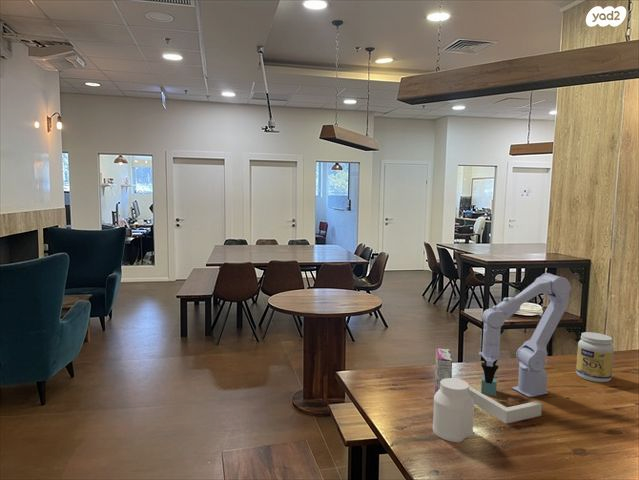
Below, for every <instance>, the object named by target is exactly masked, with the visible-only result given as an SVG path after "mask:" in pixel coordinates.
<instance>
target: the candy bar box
mask: <svg viewBox="0 0 639 480" xmlns="http://www.w3.org/2000/svg"><path fill="white" fill-rule="evenodd" d="M452 358H453V357H452V354H451V351H450V349H449V348H440V347H439V348H438V347H437V348H435V363H434V364H435V368H434V369H435V371H434V376H435V377H434V395H435V394H436V392H437V391H438V390H439V389H440V381H441V380H442V379H446V378H453V377H452V374H453V371H452V370H453V359H452Z"/></svg>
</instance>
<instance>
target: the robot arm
mask: <svg viewBox="0 0 639 480" xmlns="http://www.w3.org/2000/svg"><path fill="white" fill-rule="evenodd" d="M572 289H573V287H572V286H571V283H570V282H569V280H568V279H567V278H566V277H563V276H558V275H555V274H553V273H549V272H544V273H543V274H541V275H540V276H538V277H536V278H535V280H534V281H533V282H532V283H531V284H529V285H528V286H527V287H525V288H524V289H522V291H521V292H519V293H518V294H516V295H515V296H513V297H512V296H509V297H504V298H503V299H502V301H500V302H499V303H497V304H496V305H493V306H492V308H487V309H485V310H483V313H482V314H481V315H480V318H481V321H482V322H483V333H482V334H483V335H482V349H481V351H479V352H478V356H481V358H482V359H483V362H481V368H482V370H483V374H484V375H485V382H486V383H490V384H492V382H493V378H494V377H495V374H496V372H497V371H498V369H499V365H498V364H497V362H498V360H499V359H500V346H501V344H500V343H501V329H502V327H503V326H504V324H505V322H506V320H507V319H509V318H510V317H512V316H514V314H516V313H517V312H519V311H520V310H521V305H523V304H525V303H526V302H529V301H531V299H533V298H535V297H537V296H538V295H540V294H543V295H546V296H547V298H548V301H549V303H548V305H547V307H546V309H545V311H544V313H543V314H542V316H541V318H540V320H539V322H538V324H537V325H536V328H535V329H534V331H533V333H532V336H531V337H530V338H529V339H528V340H526V341H524V343H523V344H521V346H520V347H519V348H518V349H517V350H516V353H515V357H516V360H517V361H518V378H517V385H516V386H512V389H513V390H514V391H517V392H518V393H520V394H523V395H524V396H526V397H528V398H533V397H537V396H543V395H546V394H547V395H548V394H549V392H548V391H547V386H548V385H547V384H548V373H547V370H546V369H545V366H546V364H547V363H546V359H547V357H548V351H547V346H548V344H549V341H550V340H551V338H552V336H553V334H554V332H555V331H556V330H557V329H556V328H557V327H558V325H559V322H560V321H561V319H562V317H563V315H564V313H565V312H566V309H567V308H568V306H569V303H570V292H571V291H572Z"/></svg>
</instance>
